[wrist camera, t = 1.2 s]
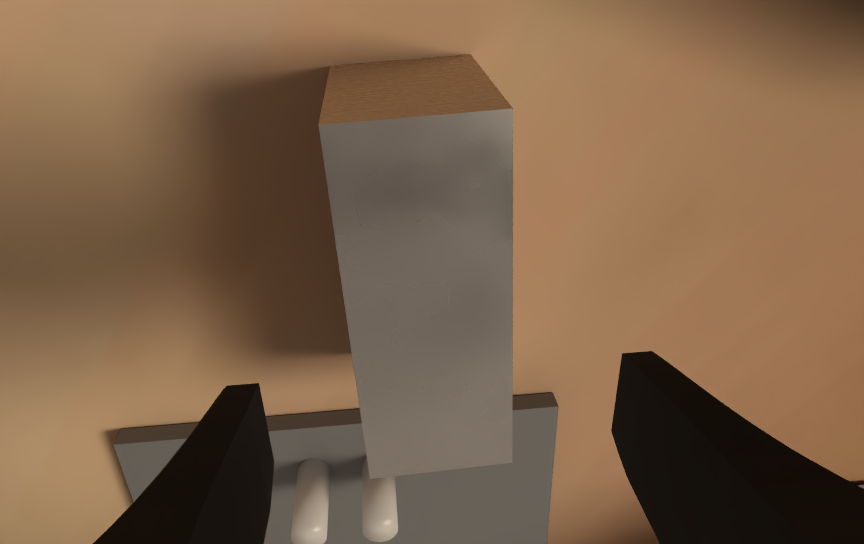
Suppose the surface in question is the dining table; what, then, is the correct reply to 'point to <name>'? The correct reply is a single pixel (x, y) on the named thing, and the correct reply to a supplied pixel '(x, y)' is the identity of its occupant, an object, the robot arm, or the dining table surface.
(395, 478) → the dock
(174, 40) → the dining table surface
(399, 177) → the block
